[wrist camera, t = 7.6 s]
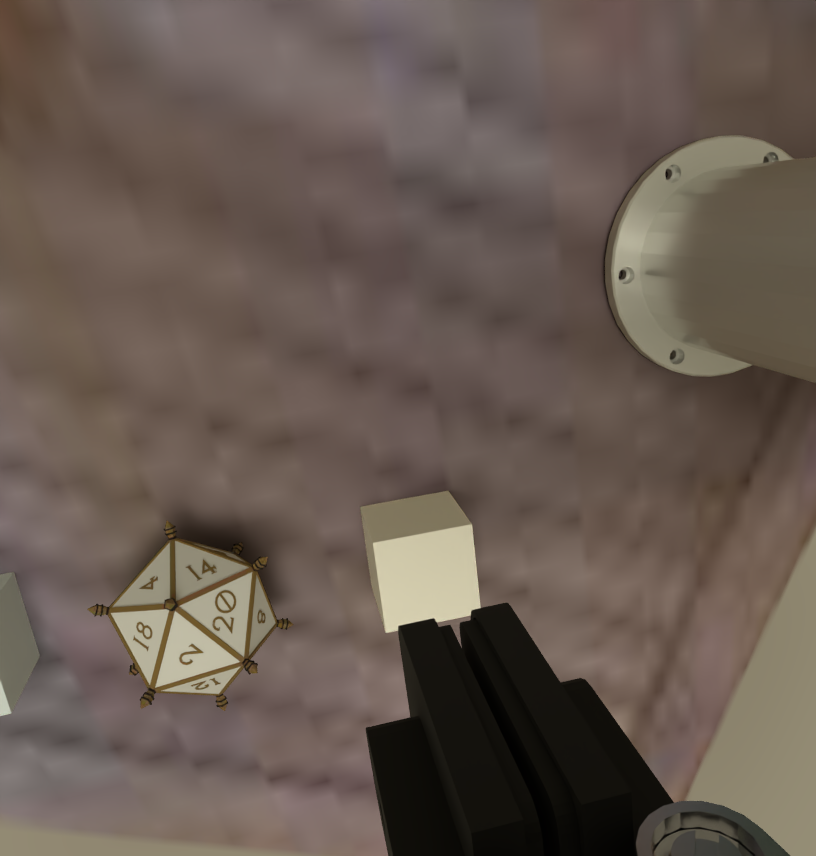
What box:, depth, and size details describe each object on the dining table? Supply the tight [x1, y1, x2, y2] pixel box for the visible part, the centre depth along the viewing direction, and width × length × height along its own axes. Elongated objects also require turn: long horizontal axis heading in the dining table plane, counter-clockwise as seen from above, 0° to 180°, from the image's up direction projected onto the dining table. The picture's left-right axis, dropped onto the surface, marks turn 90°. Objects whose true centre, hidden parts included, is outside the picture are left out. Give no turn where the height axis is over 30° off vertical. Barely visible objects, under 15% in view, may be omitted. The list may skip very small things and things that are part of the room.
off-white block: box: [360, 491, 480, 633], centre depth 40 cm, size 5×5×5 cm
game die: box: [88, 521, 293, 711], centre depth 37 cm, size 9×8×10 cm
